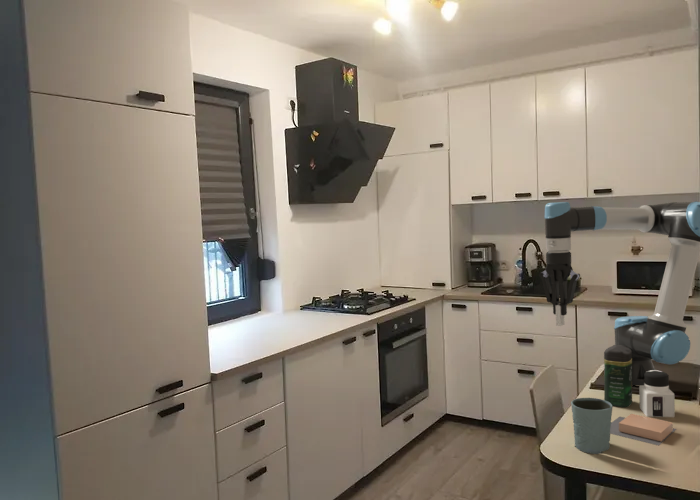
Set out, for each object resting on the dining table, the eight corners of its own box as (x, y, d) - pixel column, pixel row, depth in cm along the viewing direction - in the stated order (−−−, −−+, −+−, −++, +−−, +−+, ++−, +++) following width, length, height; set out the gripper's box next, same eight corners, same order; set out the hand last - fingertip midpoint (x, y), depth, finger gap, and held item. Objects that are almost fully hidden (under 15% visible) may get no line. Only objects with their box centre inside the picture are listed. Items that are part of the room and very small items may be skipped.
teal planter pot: (566, 448, 155) (565, 405, 154) (580, 436, 163) (579, 394, 162) (605, 458, 148) (604, 412, 147) (618, 444, 156) (617, 401, 155)
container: (675, 419, 171) (674, 376, 170) (646, 418, 172) (646, 375, 171) (666, 409, 178) (665, 368, 177) (639, 409, 180) (638, 368, 179)
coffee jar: (629, 410, 179) (628, 351, 178) (602, 406, 184) (601, 349, 182) (634, 400, 187) (633, 344, 186) (608, 397, 192) (607, 342, 190)
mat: (619, 418, 174) (619, 416, 174) (676, 431, 162) (676, 429, 162) (599, 433, 164) (599, 430, 164) (658, 447, 153) (658, 445, 153)
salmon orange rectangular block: (631, 413, 168) (672, 422, 161) (631, 422, 169) (672, 431, 161) (618, 422, 162) (661, 432, 154) (619, 431, 162) (661, 442, 155)
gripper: (533, 252, 185) (535, 324, 187) (573, 253, 175) (574, 329, 177) (544, 249, 190) (546, 320, 192) (583, 250, 180) (585, 325, 182)
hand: (560, 324), depth 184 cm, fingers closed
